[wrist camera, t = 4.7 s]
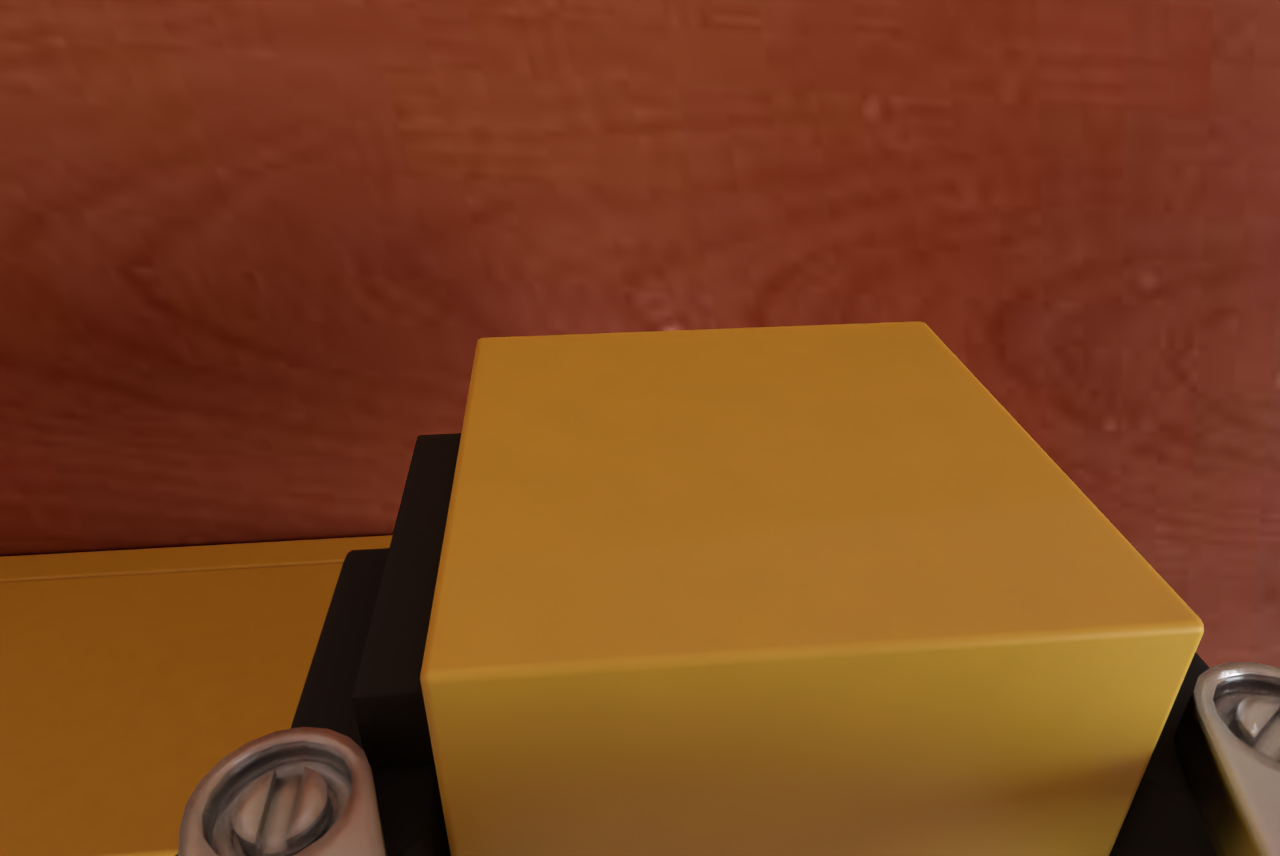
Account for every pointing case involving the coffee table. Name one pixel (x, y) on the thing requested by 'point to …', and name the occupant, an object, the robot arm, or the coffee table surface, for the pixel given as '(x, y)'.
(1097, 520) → the mustard block
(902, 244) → the coffee table surface
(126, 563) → the mustard bin
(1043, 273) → the coffee table surface
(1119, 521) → the coffee table surface
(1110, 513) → the coffee table surface
